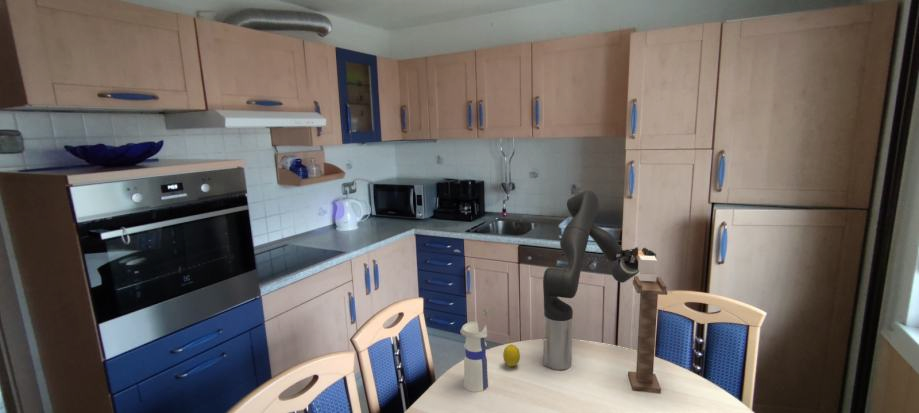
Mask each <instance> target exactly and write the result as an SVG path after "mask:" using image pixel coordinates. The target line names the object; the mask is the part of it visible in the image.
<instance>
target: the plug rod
mask: <svg viewBox="0 0 919 413" xmlns="http://www.w3.org/2000/svg"><path fill="white" fill-rule="evenodd" d="M635 257H636V258H637V260H638V270H639V272H638V273H639V274H641V275H657V270H658V259H657V257H656V258H655V256H645V255H644V254H643V252H642V251H638V254H637V256H635Z"/></svg>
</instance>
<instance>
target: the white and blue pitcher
mask: <svg viewBox="0 0 919 413" xmlns="http://www.w3.org/2000/svg"><path fill="white" fill-rule="evenodd" d="M482 311H483V316H486V318H489V313H490V311H488V310H487V307H486V306H484V308H482ZM460 334H461V335H462V337H463V336H464V337H465V343H463V347H464V349H465V356H464V359H463V365H464V366H463V370H464V372H463V387H464V388H465V390H467V391H469V392H473V393H481V392H483V391H486V390H487V388H489V375H488V374H489V372H488V358H487V354H486V353H487V352H486V350H487V342H486V340H485V338H487V337H488V327H487V324H485V325H484V327H483V330H482V331H479V324H478V322H476V321H468V322H467V323H465V324H463V325H462V327H461V329H460Z"/></svg>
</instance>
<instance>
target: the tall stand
mask: <svg viewBox="0 0 919 413" xmlns="http://www.w3.org/2000/svg"><path fill="white" fill-rule="evenodd" d="M655 278H656V280H655V281H653V280H652V281H651V280H640V279H639V277H638V276H637V275H635V276H633V279H632V286H633V287H634V289H635V292H636V294H639V311H638V313H639V314H638V330H637V332H638V333H637V346H636V347H637V351H636V366H635V367H636V370H635V371H633V370H632V371H631V370H630V371H628V372H627V378H628V380H629V381H628V382H629V384H630V387H631V390H632V391H634V392H636V391H637V392H644V393H646V392H647V393H654V394H661V393H662V387H661V385H660V381H659V380H658V377H657V375H656V373H654V364H655V349H656V348H655V347H656V330H657V313H658V300H659V299H658V297H659V295H660V296H661V295H665V296H667V295H668V290H667V289H668V288H667V285H666V284H665V283H664V281H663V279H662V278H661V276H656V277H655Z"/></svg>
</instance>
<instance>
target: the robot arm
mask: <svg viewBox="0 0 919 413" xmlns="http://www.w3.org/2000/svg"><path fill="white" fill-rule="evenodd" d="M599 205H600V202H599V199H598V196H597V194H596V193H595V192H594V191H592V190H584V191H582V192H580V193H578V194H576V195H573V196H572V197H570V198H569V199H568V200H567V201H566V208H567V211H568V212H569V214H570V216H571V217H572V219H571V220H570V221H569V222H568V223H567V224H566V226H565V227H564V229H563V231H562V234H561V237H560V241H559V247H560V250H561V252H562V254H563V255H564V257H565V258H566V261H567V262H568V264H569V268H559V267H547V268H546V269H544V273H543V277H542V278H543V279H542V285H543V286H542V288H543V289H542V290H543V312H544V313H543V355H542V356H543V358H542V359H543V360H542V361H543V367H547V368H549V369H553V370H557V371H563V370H567V369H569V368H571V367H572V363H573V362H572V361H573V360H572V359H573V357H572V356H573V355H572V354H573V352H572V351H573V322H574V321H573V318H574V317H573V314H574V313H573V312H574V311H573V308H572V306H571V305H570V304H568V303H566V302H565V301H563V300H561V299H560V298H564V299H573V298H574V297H575V296H576V295H577V291H578V288H579V283H580V276H581V271H582V265H583V260H584V258H585V256H584V255H585V253H586V249H587V247H588V243H589V237H590V238H591V239H592V240H593V241H594V242H595V244H596V245H597V247H598V248H599V249H600V251H601V253H603V255H604V256H605V258H606V259H607V261H609V262H616V261H619V262H618V263H617V264H615V265H614V266H613V267H612V269H611V275H612V278H614V280H615V281H617V282H618V283H622V284H623V283H625V282H627V281H628V280H630V279H631V278H632V279H633V278H634V276H637V274H639V273H640V272H639V270H638V260H637V258H636V257H635V256H637V254H638V251H642V252H643V254H644V255H645V256H655V258H656V259H657V253H656V252H654V251H652V250H651V249H649V248H647V247H643V248H642V249H639V247H638V246H637V247H636V246H635V248H630V249H623V248H622V247H621V244H619V242H618V241H617V239H616V238H615V237H614V235H612V233H610V232H608V231H607V230H605V229H604V228H602V227H600V226H598V225H597V224H595V223H594V220H595V217H596V216H597V213H598V211H599V207H600V206H599Z"/></svg>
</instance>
